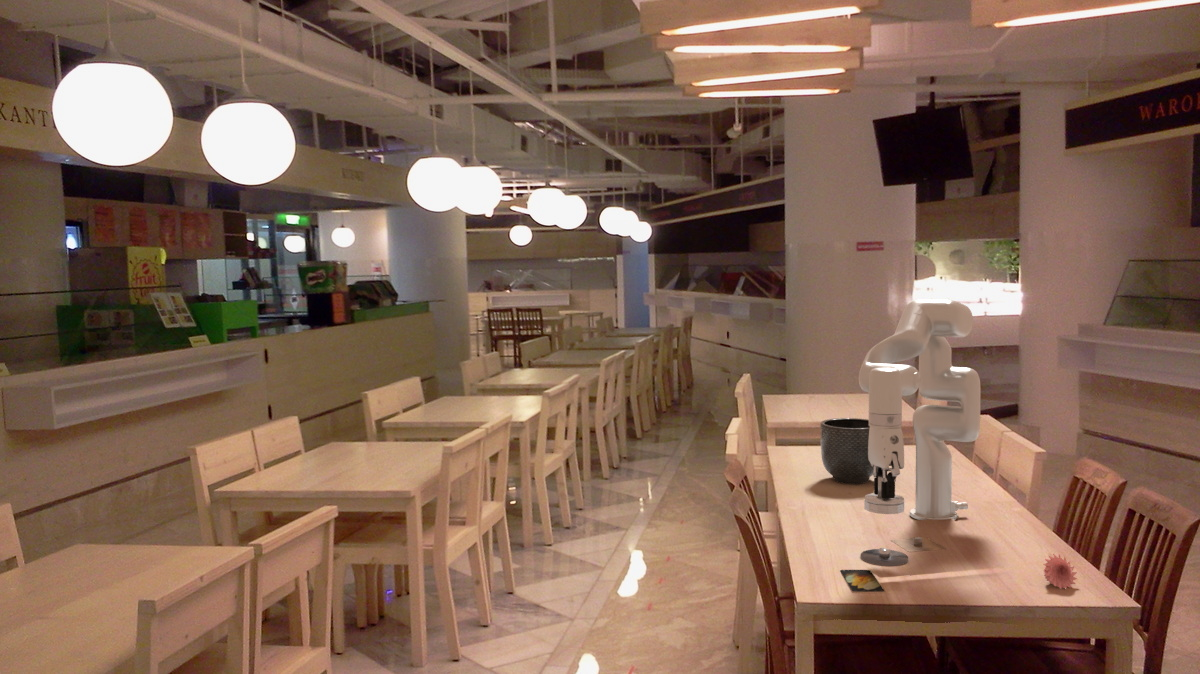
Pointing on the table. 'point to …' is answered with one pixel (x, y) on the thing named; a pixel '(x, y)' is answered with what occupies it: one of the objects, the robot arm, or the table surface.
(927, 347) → the robot arm
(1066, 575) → the flower
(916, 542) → the stand
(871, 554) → the metal pot lid
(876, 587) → the smartphone
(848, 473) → the planter
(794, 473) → the table surface
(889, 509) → the metal knob with peg
